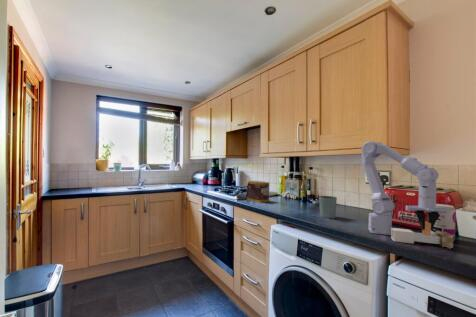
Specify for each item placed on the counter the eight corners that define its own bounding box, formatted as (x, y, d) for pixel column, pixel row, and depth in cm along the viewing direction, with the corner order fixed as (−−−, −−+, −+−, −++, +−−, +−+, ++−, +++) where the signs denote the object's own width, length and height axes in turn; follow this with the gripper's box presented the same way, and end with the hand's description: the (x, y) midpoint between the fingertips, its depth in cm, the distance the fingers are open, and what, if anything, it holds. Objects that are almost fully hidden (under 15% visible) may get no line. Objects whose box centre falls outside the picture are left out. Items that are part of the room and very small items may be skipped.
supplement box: (260, 202, 184) (261, 182, 184) (246, 199, 195) (247, 181, 195) (269, 201, 191) (269, 182, 191) (255, 198, 202) (255, 180, 202)
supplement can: (454, 239, 106) (455, 205, 106) (455, 243, 99) (455, 208, 100) (431, 234, 111) (431, 203, 111) (430, 238, 105) (431, 205, 105)
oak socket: (442, 247, 94) (442, 235, 94) (435, 242, 100) (435, 230, 100) (452, 248, 93) (453, 236, 93) (445, 243, 99) (445, 231, 99)
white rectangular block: (394, 241, 100) (394, 230, 100) (391, 238, 105) (391, 227, 105) (413, 243, 98) (414, 232, 98) (409, 240, 102) (410, 229, 102)
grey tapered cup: (337, 219, 136) (338, 198, 136) (319, 218, 138) (320, 197, 138) (334, 215, 146) (334, 196, 146) (317, 214, 148) (317, 195, 148)
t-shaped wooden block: (400, 239, 100) (401, 220, 100) (398, 237, 103) (398, 218, 103) (444, 244, 95) (444, 224, 95) (440, 242, 98) (440, 222, 98)
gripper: (410, 196, 97) (409, 229, 97) (453, 199, 92) (453, 234, 92) (404, 194, 104) (403, 225, 104) (444, 197, 99) (444, 229, 99)
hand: (426, 229), depth 99 cm, fingers closed on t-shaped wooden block, 2 cm apart
